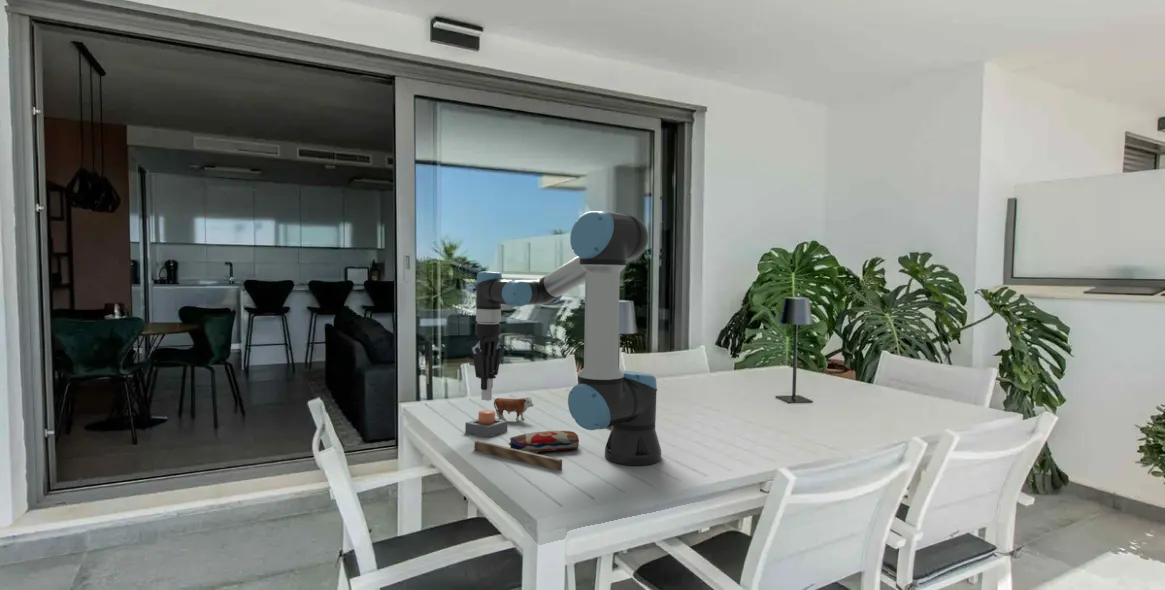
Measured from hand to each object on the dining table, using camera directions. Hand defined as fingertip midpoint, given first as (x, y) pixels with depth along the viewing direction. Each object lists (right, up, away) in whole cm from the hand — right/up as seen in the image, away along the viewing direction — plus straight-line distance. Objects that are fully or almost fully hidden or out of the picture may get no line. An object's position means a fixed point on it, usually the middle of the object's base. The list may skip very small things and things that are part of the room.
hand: (486, 399), depth 188 cm
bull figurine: (+7, -10, +15) cm, 19 cm away
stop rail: (+12, -11, -26) cm, 31 cm away
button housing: (0, -10, 0) cm, 10 cm away
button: (0, -8, 0) cm, 8 cm away
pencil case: (+19, -12, -17) cm, 28 cm away
